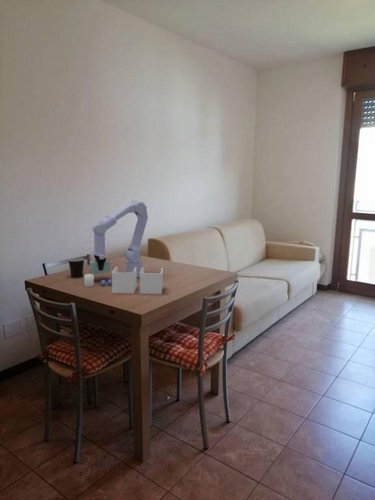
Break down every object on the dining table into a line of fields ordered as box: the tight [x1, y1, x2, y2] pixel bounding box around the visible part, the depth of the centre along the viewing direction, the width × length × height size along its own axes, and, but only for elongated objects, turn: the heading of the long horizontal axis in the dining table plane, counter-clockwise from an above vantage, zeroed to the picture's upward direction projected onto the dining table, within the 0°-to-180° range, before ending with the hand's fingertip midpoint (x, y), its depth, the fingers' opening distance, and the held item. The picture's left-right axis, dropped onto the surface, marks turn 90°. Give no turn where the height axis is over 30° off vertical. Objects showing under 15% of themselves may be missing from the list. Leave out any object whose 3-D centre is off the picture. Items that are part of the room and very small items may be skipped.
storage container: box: [111, 266, 164, 295], centre depth 192 cm, size 25×11×11 cm, turn 91°
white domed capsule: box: [83, 273, 95, 288], centre depth 198 cm, size 5×5×6 cm
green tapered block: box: [89, 259, 111, 275], centre depth 207 cm, size 10×6×6 cm, turn 111°
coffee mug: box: [68, 257, 85, 279], centre depth 215 cm, size 12×9×10 cm
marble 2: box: [107, 278, 112, 286], centre depth 200 cm, size 3×3×3 cm
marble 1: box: [99, 279, 107, 286], centre depth 199 cm, size 3×3×3 cm
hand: (100, 268), depth 207 cm, fingers closed on green tapered block, 6 cm apart
